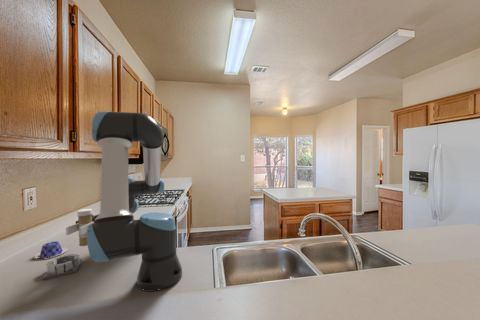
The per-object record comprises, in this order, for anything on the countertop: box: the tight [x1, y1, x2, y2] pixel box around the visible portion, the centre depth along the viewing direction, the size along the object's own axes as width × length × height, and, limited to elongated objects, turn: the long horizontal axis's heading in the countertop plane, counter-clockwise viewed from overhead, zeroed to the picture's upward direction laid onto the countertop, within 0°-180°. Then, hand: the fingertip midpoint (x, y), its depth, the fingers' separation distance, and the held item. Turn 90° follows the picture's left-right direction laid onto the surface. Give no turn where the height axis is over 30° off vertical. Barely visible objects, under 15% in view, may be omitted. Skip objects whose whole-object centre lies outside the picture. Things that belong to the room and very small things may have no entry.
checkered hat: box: [33, 241, 69, 260], centre depth 99 cm, size 12×12×5 cm
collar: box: [42, 253, 83, 280], centre depth 84 cm, size 10×10×4 cm
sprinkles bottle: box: [76, 208, 93, 247], centre depth 81 cm, size 5×5×13 cm
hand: (74, 231), depth 76 cm, fingers closed on sprinkles bottle, 4 cm apart
